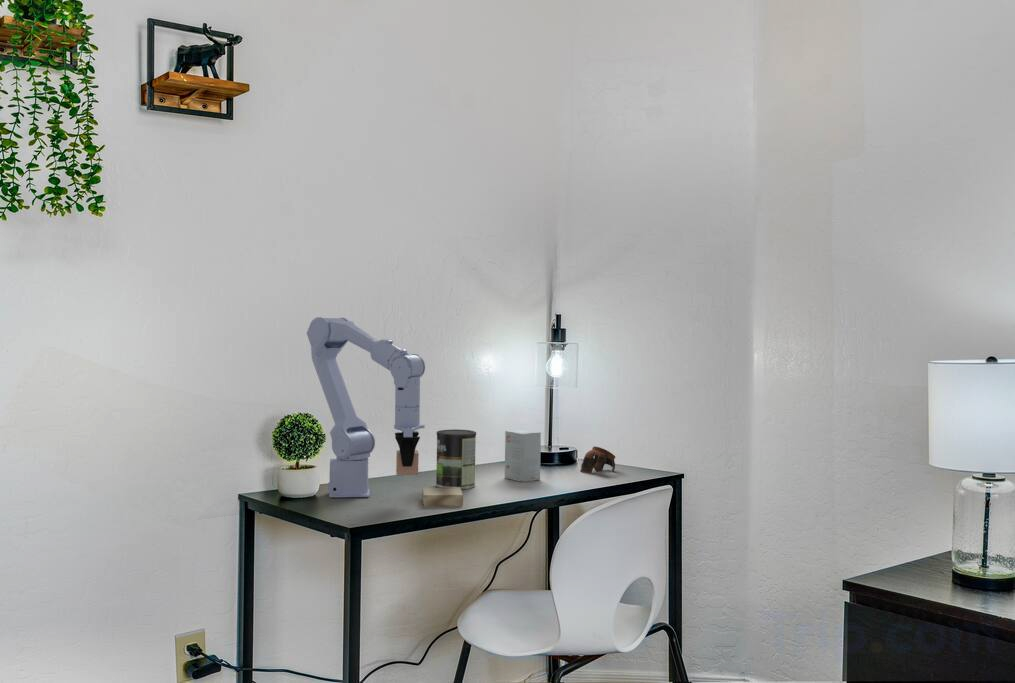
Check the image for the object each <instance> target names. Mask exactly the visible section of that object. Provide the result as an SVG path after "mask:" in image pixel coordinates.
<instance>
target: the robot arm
mask: <svg viewBox="0 0 1015 683" xmlns="http://www.w3.org/2000/svg"><path fill="white" fill-rule="evenodd" d="M306 335H307V339H308V341H309V344H310V352H311V353H310V354H311V360H312V363H313V365H314V366H313V367H314V369H315V371H316V375H317V376H318V380H319V383H320V386H321V389H322V391H323V394H324V396H325V400H326V402H327V405H328V408H329V412H330V414H331V417H332V419H333V422H334V425H333V427H332V428H331V429H330V432H329V434H330V436H331V449H332V453H333V454H334V455H335V456H336V458H330V460H329V481H328V491H329V493H328V495H329V496H328V497H329V498H369V497H370V496H371V495H370V494H371V493H370V492H371V490H370V489H369V458H371V453H372V452H373V450H374V449H375V447H376V439H375V436H374V434H373V433H372V431H371V430H370V429H369V428H368V425H367V423H366V421H364V420H362V419H361V418H359V416H357V414H356V410H355V408H354V406H353V402H352V400H351V397H350V395H349V391H348V388H347V385H346V383H345V381H344V378H343V375H342V373H341V372H342V371H341V370H340V366H339V364H338V362H337V356H338V354H340V352H341V351H342V350H343V348H344V347H345V346H346V345H347V343H348V342H349V343H351V344H353V345H355V346H357V347H358V348H360V349H363V350H364V351H366V352H368V353H369V354H370V358H371V360H372V361H373V362H375V363H377V364H378V365H380V366H381V367H383V368H385V369H387V371H389V372H390V375H391V376H392V378H393V385H394V386H395V389H394V391H395V393H394V394H395V396H394V403H395V404H394V405H395V406H394V424H393V429H394V430H397V431H401V432H395V433H394V437H395V438H394V439H395V440H396V442H397V445H398V448H399V450H400V454H401V461H402V465H403V467H406V466H412V463H413V459H414V453H415V450H416V448H417V445H418V443H419V441H420V440H421V437H420V436H419V434H420V432H419V431H417V430H420V429H425V428H426V427H425V426H426V425H425V424H421V423H420V420H421V418H420V415H421V413H420V410H421V409H420V408H421V407H420V405H421V399H420V398H421V378H422V377H423V375H424V373H425V372H426V371H425V370H426V364H425V360H424V359H423V358H422V357H421V356H420V355H419V354H417V353H412V354H409V353H408V350H406V349H405V348H400V347H398V346H396V345H395V344H393V343H394V341H393V340H391V339H386V338H385V339H384V338H383V339H379V340H377V339H376V338H375V337H373V336H372V335H370V334H369V333H367V332H366V331H365V330H363V329H362V328H360V327H358V326H357V325H356V324H355V323H354V322H353V321H351V320H349V319H347V318H346V317H339V318H337V317H336V318H335V317H334V318H333V317H329V318H328V317H322V316H321V317H319V316H318V317H317V316H316V317H315V318H314V319H312V320H311V322H310V323H309V326H308V328H307V331H306Z"/></svg>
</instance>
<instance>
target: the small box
mask: <svg viewBox="0 0 1015 683" xmlns="http://www.w3.org/2000/svg"><path fill="white" fill-rule="evenodd" d="M504 434H505V435H504V437H505V438H504V445H505V446H504V478H505V479H509V480H514V481H518V482H521V483H522V482H523V483H527V482H534V481H539V480H541V443H542V442H541V439H542V438H541V434H542V433H541V431H535V430H534V431H532V430H525V429H514V430H505V432H504Z"/></svg>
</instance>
